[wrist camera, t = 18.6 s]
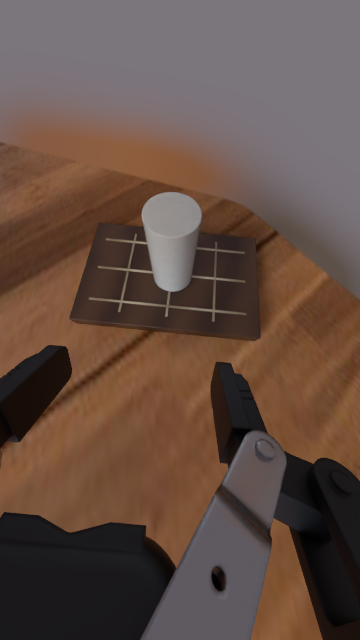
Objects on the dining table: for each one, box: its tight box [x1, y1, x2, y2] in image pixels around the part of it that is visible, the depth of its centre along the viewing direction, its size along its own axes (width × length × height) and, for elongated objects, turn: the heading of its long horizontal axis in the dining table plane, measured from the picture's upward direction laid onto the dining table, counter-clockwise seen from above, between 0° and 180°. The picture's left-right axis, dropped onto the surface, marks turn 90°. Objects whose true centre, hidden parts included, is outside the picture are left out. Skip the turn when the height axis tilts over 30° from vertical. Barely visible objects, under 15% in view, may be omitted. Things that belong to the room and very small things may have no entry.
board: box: [69, 223, 260, 341], centre depth 22 cm, size 20×13×2 cm, turn 85°
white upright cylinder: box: [142, 192, 202, 292], centre depth 17 cm, size 4×4×8 cm
